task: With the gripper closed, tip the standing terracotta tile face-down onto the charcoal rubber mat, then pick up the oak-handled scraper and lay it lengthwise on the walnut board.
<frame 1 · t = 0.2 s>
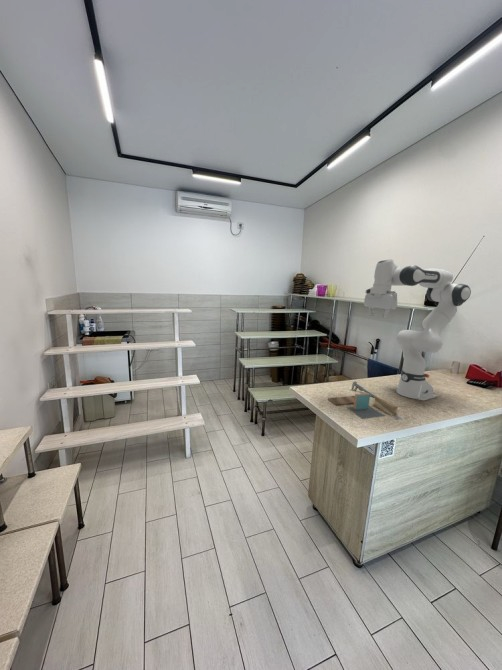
hand: (378, 316, 139), 47 cm above the countertop, tool pointing down, fingers open, 8 cm apart
mat: (365, 412, 129), on the countertop
board: (347, 401, 141), on the countertop
caliper: (366, 395, 152), on the countertop
scraper: (384, 410, 133), on the countertop
tile: (360, 408, 132), resting on mat
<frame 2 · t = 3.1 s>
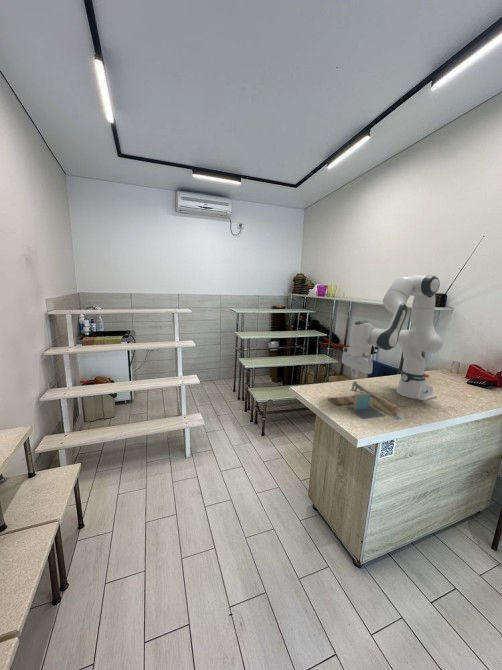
hand: (354, 376, 136), 15 cm above the countertop, tool pointing down, fingers closed
nothing on the countertop moved.
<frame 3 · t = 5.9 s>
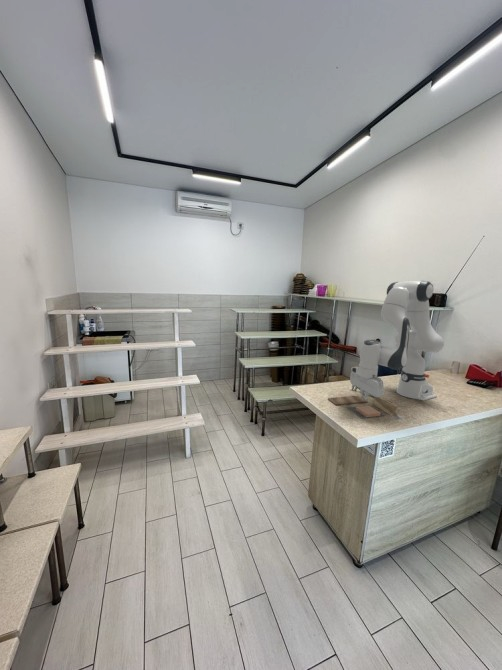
hand: (364, 398, 130), 7 cm above the countertop, tool pointing down, fingers closed
tile: (362, 407, 131), point 1 cm above the countertop, tilted 90°, touching mat
everything else where it was.
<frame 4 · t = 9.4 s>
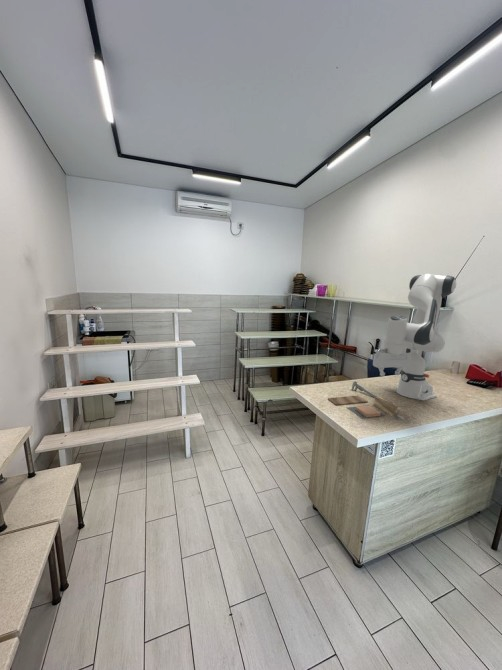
hand: (389, 375, 129), 19 cm above the countertop, tool pointing down, fingers open, 8 cm apart
nothing on the countertop moved.
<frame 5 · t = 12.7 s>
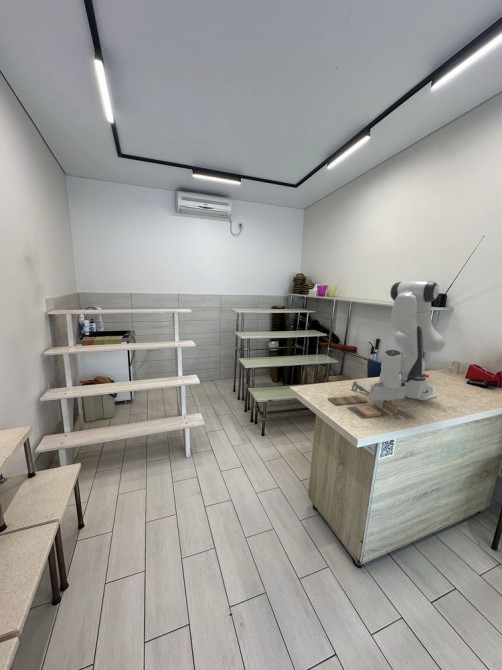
hand: (385, 407, 132), 2 cm above the countertop, tool pointing down, fingers closed on scraper, 3 cm apart
scraper: (384, 410, 133), on the countertop, touching gripper
everything else where it was.
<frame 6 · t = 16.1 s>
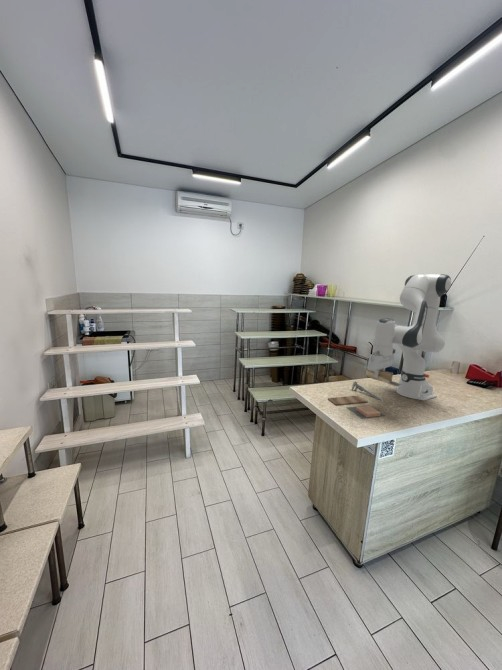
hand: (378, 376, 132), 17 cm above the countertop, tool pointing down, fingers closed on scraper, 3 cm apart
scraper: (378, 379, 132), point 16 cm above the countertop, touching gripper
everything else where it was.
when the fingers open (4 cm above the countertop, at t = 19.8 s): scraper drops 1 cm, resting on board.
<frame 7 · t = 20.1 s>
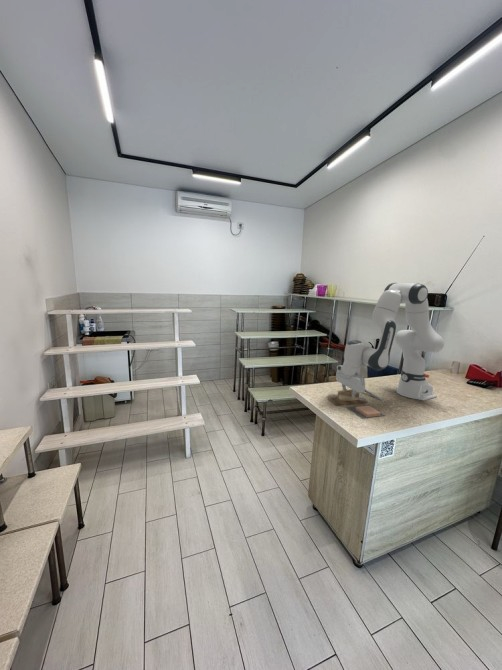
hand: (348, 394, 141), 4 cm above the countertop, tool pointing down, fingers open, 5 cm apart
scraper: (347, 399, 141), point 1 cm above the countertop, touching board
everything else where it was.
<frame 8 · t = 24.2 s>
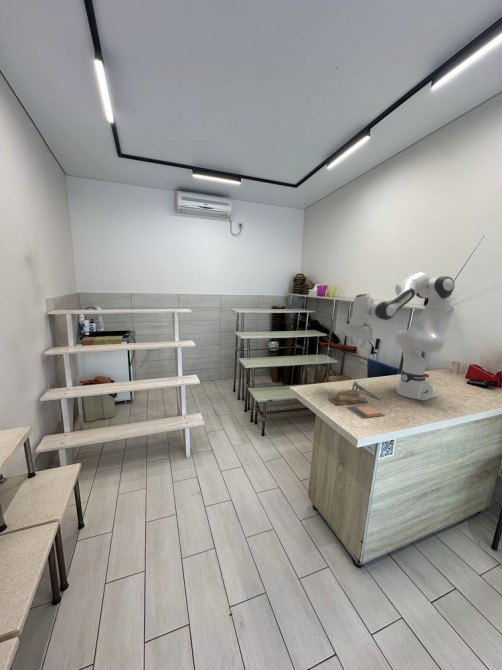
hand: (356, 346, 148), 29 cm above the countertop, tool pointing down, fingers open, 8 cm apart
nothing on the countertop moved.
at the end: tile tilted 90°; tile inside the target area (1.5 cm from its centre), point 1.3 cm above the countertop; scraper inside the target area (0.1 cm from its centre), point 1.2 cm above the countertop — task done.
